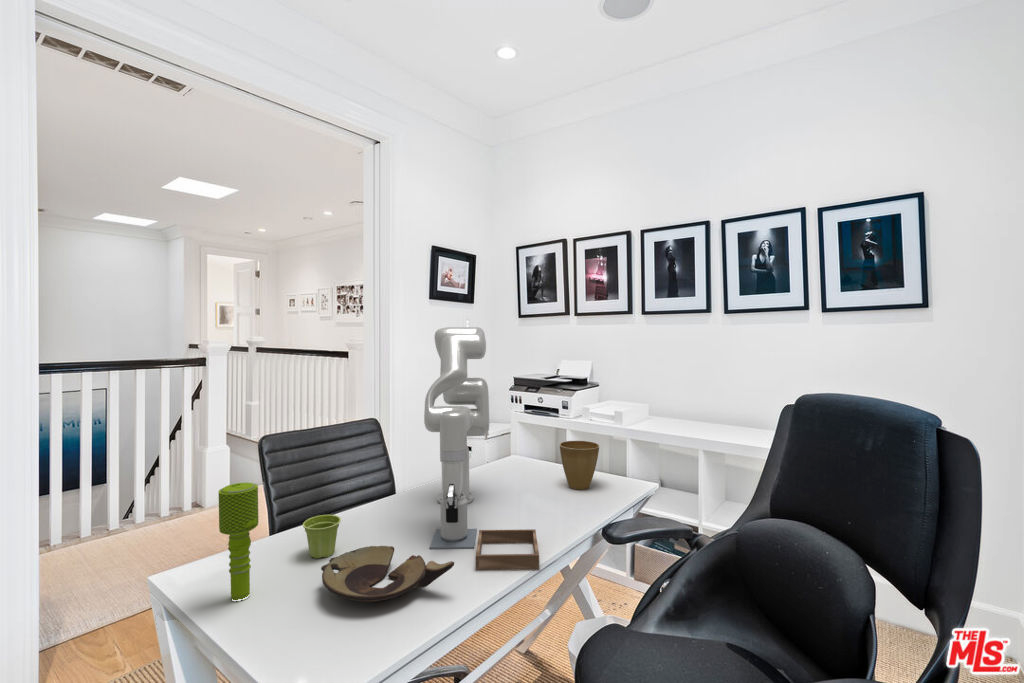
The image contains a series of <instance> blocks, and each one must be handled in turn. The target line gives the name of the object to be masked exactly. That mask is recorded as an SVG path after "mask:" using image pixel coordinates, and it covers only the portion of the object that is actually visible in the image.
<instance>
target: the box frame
mask: <svg viewBox="0 0 1024 683" xmlns="http://www.w3.org/2000/svg"><path fill="white" fill-rule="evenodd" d="M476 544H477V545H476V552H475V571H512V570H514V571H516V570H517V571H518V570H519V571H521V570H528V571H529V570H537V571H538V570H540V553H539V546H538V545H539V544H538V539H537V530H536V528H535V529H479V530H478V538H477V543H476ZM483 544H485V545H486V544H487V545H489V544H491V545H492V544H496V545H497V544H498V545H499V544H503V545H504V544H532V547H533V549H532V550H533V553H515V554H514V553H510V554H509V553H507V554H505V553H500V554H497V553H496V554H493V553H492V554H491V553H490V554H482V547H483Z"/></svg>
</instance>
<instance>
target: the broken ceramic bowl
mask: <svg viewBox="0 0 1024 683" xmlns="http://www.w3.org/2000/svg"><path fill="white" fill-rule="evenodd" d="M394 554H395V547H394V546H388V545H371V546H364V547H359V548H357V549H353V550H350V551H349V552H348V551H347V552H344V553H342V554H339V556H335V557H331V558H330V559H329V560H328V563H327V564H324V565H322V566H321V568H320V569H321V571H322V573H321V581H322V584H323V586H324V587H325V589H326V590H327V591H328V592H330V593H332V594H333V595H335V596H337V597H340V598H344V599H348V600H350V601H351V600H352V601H356V602H378V601H379V602H380V601H384V600H389V599H393V598H396V597H398V596H400V595H403V594H405V593H407V592H409V591H411V590H413V589H414V588H425V587H427V586H429V585H431V584H432V583H433V582H434V581H436V580H437V579H439V578H440V577H441V576H443V575H444V574H446V573H447V572H448V571H449V570H451V569H452V568H453V567H454V566H455V561H453V560H452V561H451V560H450V561H447V562H445V563H438V562H436V561H434V560H430V561H428V562H427V563H426V562H425V559H424V558H423V557H422V556H421V555H417V556H416V555H413V554H412V555H411V556H409V558H407V559H406V560H405V561H404V562H402V563H401V564H400V565H398V566H397V567H395V568H394V569H393V570H392V571H391V572H389V573H388V571H389V569H390V566H391V562H392V560H393V556H394ZM335 571H337V572H335ZM387 573H388V575H387V577H388V579H392V580H394V581H392V582H389V583H390V584H389V583H388V584H387V585H386V586H384V587H374V585H375V584H377V583H379V582H380V581H382V580H383V579H384V578H385V577H386V574H387Z"/></svg>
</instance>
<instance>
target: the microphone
mask: <svg viewBox="0 0 1024 683" xmlns="http://www.w3.org/2000/svg"><path fill="white" fill-rule="evenodd" d="M217 492H218V528H219V533H221V534H222V535H226V536H227V535H228V543H227V546H228V547H227V550H228V552H230V554H229V555H228V558H229V563H228V566H229V567H230V568H229V570H228V572H229V574H230V600H231V599H233V600H238V599H243V598H245V597H247V596H248V595H249V594H250V595H251V592H250V591H251V583H250V582H251V581H250V580H251V577H250V576H251V574H250V571H251V568H252V565H251V564H250V563H251V561H252V560H251V558H250V555H251V551H250V548H251V543H252V541H251V540H252V539H251V537H250V535H251V534H250V531H252V530H255V528H256V527H258V526H259V486H258V484H257V483H253V482H237V483H232V484H229V485H225V487H224V486H223V488H220V489H219V490H218V491H217Z"/></svg>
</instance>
